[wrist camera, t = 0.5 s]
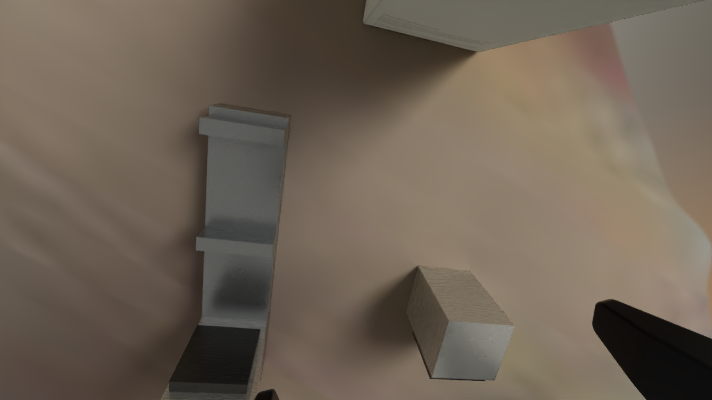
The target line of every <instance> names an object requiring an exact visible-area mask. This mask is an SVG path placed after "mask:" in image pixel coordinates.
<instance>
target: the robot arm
mask: <svg viewBox="0 0 712 400" xmlns="http://www.w3.org/2000/svg"><path fill="white" fill-rule="evenodd" d="M592 325H593V329H594V331H595V333H596V334H597V335H598V337H599V338H600V340H601V341H602V342H603V344H604V345H605V346H606V348H607V349H608V350H609V352H610V353H611V355H612V356H613V357H614V359H615V360H616V361H617V363H618V364H619V366H620V367H621V368H622V370H623V371H624V372H625V374H626V375H627V376H628V378H629V379H630V380H631V382H632V383H633V384H634V386H635V387H636V388H637V389H638V390H639V392H640V393H641V394H642V395H643V396H644V397H645V399H646V400H712V339H711V338H708V337H706V336H704V335H701V334H699V333H696V332H694V331H691V330H689V329H686V328H684V327H681V326H679V325H676V324H674V323H671V322H669V321H666V320H664V319H661V318H659V317H656V316H654V315H651V314H649V313H646V312H644V311H642V310H639V309H637V308H634V307H632V306H629V305H627V304H624V303H622V302H619V301H617V300H613V299H608V300H604V301H600V302H598V303H597V304H596V305H595V310H594V315H593V321H592ZM254 400H279V398H278V396H277V393H276V391H275V390H274V389H270V390H266V391H262V392H260V393H258V394H257V396H256V397H255V399H254Z"/></svg>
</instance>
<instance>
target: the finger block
mask: <svg viewBox="0 0 712 400" xmlns="http://www.w3.org/2000/svg"><path fill="white" fill-rule="evenodd" d="M406 313H407V315H408V318H409V320H410V323H411V326H412V328H413V332H412V333H413V336H414V338H415V341H416V343H417V346H418V349H419V351H420V354H421V356H422V359H423V362H424V364H425V367H426V370H427V372H428V375H429V377H430V379H449V380H471V381H485V380H495V378H496V375H497V372H498V370H499V367H500V364H501V362H502V359H503V357H504V354H505V351H506V349H507V346H508V343H509V341H510V338H511V335H512V333H513V330H514V328H515V325H514V324H513V323H512V321H511V320H510V319H509V318H508V316H507V315H506V314H505V313H504V312H503V310H502V309H501V308H500V307H499V305H498V304H497V303H496V302H495V301H494V299H493V298H492V297H491V296H490V294H489V293H488V292H487V291H486V290H485V288H484V287H483V286H482V285H481V284H480V282H479V281H478V280H477V279H476V277H475V276H474V275H473V274H472V273H471V271H468V270H458V269H448V268H438V267H428V266H418V268H417V272H416V276H415V280H414V284H413V288H412V292H411V296H410V300H409V304H408V308H407V312H406Z"/></svg>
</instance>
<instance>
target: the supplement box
mask: <svg viewBox="0 0 712 400" xmlns="http://www.w3.org/2000/svg"><path fill="white" fill-rule="evenodd" d="M700 1H704V0H366V6H365V12H364V18H363V23H364V24H367V25H371V26H375V27H380V28H383V29H388V30H392V31H396V32H400V33H404V34H408V35H412V36H416V37H420V38H424V39H428V40H432V41H436V42H440V43H444V44H448V45H452V46H456V47H460V48H464V49H468V50H473V51H477V52H482V51H486V50H490V49H494V48H499V47H503V46H508V45H512V44H516V43H520V42H525V41H529V40H534V39H538V38H543V37H547V36H551V35H556V34H561V33H565V32H570V31H574V30H578V29H583V28H587V27H592V26H596V25H600V24H604V23H609V22H613V21H617V20H621V19H626V18H631V17H634V16H639V15H644V14H648V13H652V12H656V11H660V10H665V9H669V8H673V7H678V6H683V5H687V4H692V3H696V2H700Z"/></svg>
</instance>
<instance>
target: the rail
mask: <svg viewBox="0 0 712 400" xmlns="http://www.w3.org/2000/svg"><path fill="white" fill-rule="evenodd" d="M290 119H291V115H287V114H281V113H275V112H268V111H262V110H256V109H250V108H244V107H238V106H232V105H225V104H215V105H210V106H209V115H206V116H202V117H199V134H203V135H208V157H207V186H206V215H205V227H204V228H203V229H202V230H201V232H200V233H199V234H198V235H197V237H196V251H204V272H203V300H202V317H201V319H200V321H199V323H198V325H197V327H196V329H195V331H194V333H193V335H192V337H191V339H190V341H189V343H188V345H187V347H186V349H185V351H184V353H183V355H182V357H181V359H180V361H179V363H178V365H177V367H176V369H175V371H174V373H173V375H172V377H171V379H170V381H169V383H168V385H167V387H166V389H165V391H164V393H163V395H162V397H161V399H160V400H254V399H255V397H256V395H257V390H258V385H259V381H260V380H261V375H262V370H263V365H264V360H265V351H266V342H267V333H268V323H269V314H270V305H271V295H272V286H273V277H274V268H275V258H276V249H277V240H278V230H279V221H280V212H281V202H282V193H283V184H284V175H285V165H286V156H287V147H288V137H289V128H290Z"/></svg>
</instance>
